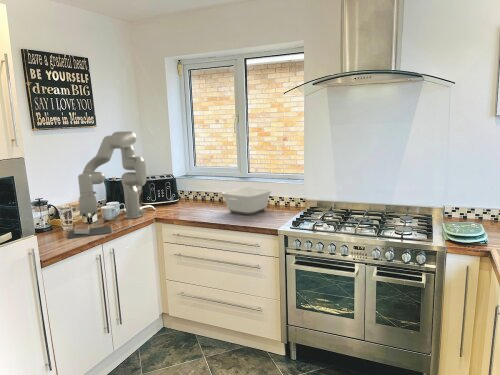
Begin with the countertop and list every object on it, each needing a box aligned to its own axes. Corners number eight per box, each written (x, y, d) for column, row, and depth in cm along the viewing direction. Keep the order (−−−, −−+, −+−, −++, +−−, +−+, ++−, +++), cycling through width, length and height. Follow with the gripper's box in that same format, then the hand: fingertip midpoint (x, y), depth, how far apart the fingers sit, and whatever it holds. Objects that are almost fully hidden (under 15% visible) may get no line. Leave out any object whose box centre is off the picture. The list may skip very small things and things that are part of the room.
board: (89, 229, 223) (74, 229, 220) (89, 233, 223) (74, 233, 220) (89, 225, 232) (75, 225, 229) (89, 229, 232) (75, 229, 229)
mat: (110, 226, 240) (110, 225, 239) (111, 233, 225) (111, 232, 225) (69, 231, 231) (69, 231, 231) (67, 239, 216) (67, 238, 216)
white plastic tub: (248, 219, 245) (248, 197, 242) (216, 214, 262) (215, 193, 259) (277, 209, 272) (276, 189, 269) (246, 204, 289) (245, 186, 286)
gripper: (100, 192, 230) (103, 220, 233) (73, 194, 225) (77, 224, 228) (100, 194, 223) (103, 223, 227) (72, 196, 218) (76, 227, 221)
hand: (90, 223), depth 227 cm, fingers closed
